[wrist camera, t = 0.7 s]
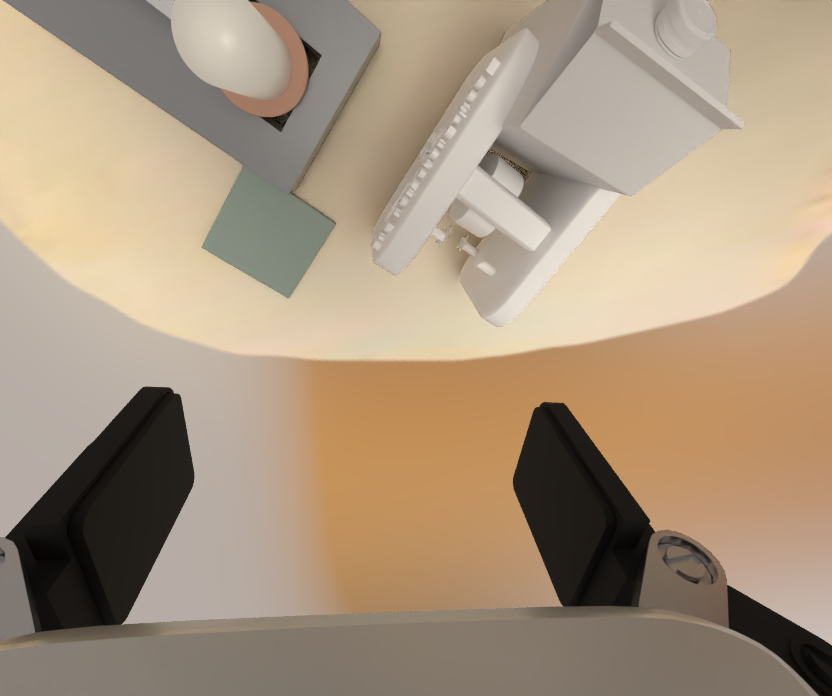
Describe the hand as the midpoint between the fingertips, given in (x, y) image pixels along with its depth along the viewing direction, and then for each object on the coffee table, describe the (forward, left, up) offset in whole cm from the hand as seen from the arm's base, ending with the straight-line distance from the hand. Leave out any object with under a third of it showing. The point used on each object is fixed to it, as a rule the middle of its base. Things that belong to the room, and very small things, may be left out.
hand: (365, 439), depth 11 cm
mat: (+5, -6, -27) cm, 29 cm away
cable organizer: (-8, +5, -27) cm, 29 cm away
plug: (-5, -11, -27) cm, 30 cm away
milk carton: (-15, +4, -28) cm, 32 cm away
